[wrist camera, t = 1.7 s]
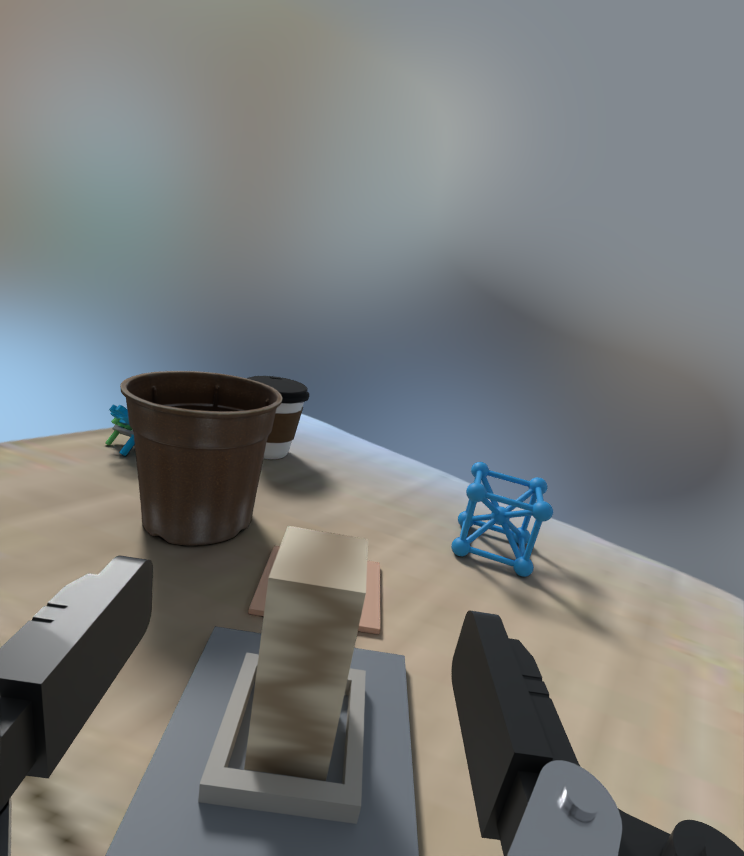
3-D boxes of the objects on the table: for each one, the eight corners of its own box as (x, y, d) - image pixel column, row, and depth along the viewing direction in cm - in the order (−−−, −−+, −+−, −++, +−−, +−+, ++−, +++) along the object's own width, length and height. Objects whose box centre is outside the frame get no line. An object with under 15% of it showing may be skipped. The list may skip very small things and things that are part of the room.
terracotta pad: (248, 613, 39) (248, 608, 39) (273, 550, 49) (274, 545, 49) (379, 634, 40) (380, 629, 40) (378, 567, 49) (379, 562, 49)
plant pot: (113, 493, 54) (112, 365, 49) (242, 480, 63) (252, 371, 58) (130, 574, 41) (132, 414, 36) (288, 542, 51) (306, 411, 46)
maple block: (244, 769, 26) (268, 577, 22) (264, 695, 31) (288, 525, 27) (325, 781, 27) (365, 593, 22) (333, 705, 31) (368, 539, 27)
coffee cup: (236, 437, 78) (242, 371, 74) (298, 442, 81) (306, 379, 77) (233, 463, 68) (240, 388, 64) (304, 467, 71) (314, 397, 67)
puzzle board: (96, 886, 21) (95, 854, 20) (214, 635, 36) (216, 611, 36) (418, 928, 22) (429, 898, 21) (402, 664, 37) (408, 641, 36)
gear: (190, 444, 67) (144, 406, 60) (167, 477, 65) (116, 442, 57) (145, 432, 72) (97, 395, 65) (122, 462, 70) (70, 428, 62)
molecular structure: (448, 556, 54) (468, 484, 51) (457, 520, 63) (474, 457, 60) (530, 583, 52) (556, 509, 49) (527, 541, 61) (548, 477, 58)
